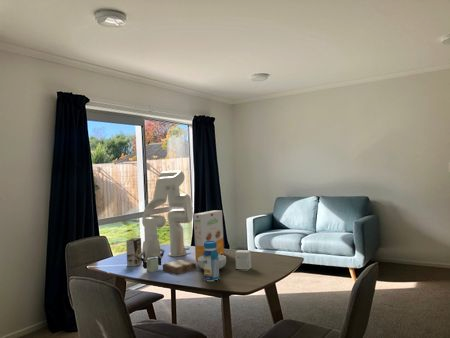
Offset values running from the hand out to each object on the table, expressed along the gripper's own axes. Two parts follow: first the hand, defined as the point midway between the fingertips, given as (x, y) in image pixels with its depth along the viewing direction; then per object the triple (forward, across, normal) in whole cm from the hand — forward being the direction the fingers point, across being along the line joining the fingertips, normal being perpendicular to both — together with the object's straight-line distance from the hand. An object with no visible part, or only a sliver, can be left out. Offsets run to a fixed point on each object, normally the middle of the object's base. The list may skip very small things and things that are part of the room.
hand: (152, 266), depth 218 cm
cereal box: (+2, -43, +2) cm, 43 cm away
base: (+2, -11, +12) cm, 16 cm away
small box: (+2, -36, +41) cm, 55 cm away
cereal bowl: (+2, -24, +27) cm, 36 cm away
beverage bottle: (+2, -11, +42) cm, 43 cm away
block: (+2, 0, 0) cm, 2 cm away
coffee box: (+2, 0, -22) cm, 22 cm away
